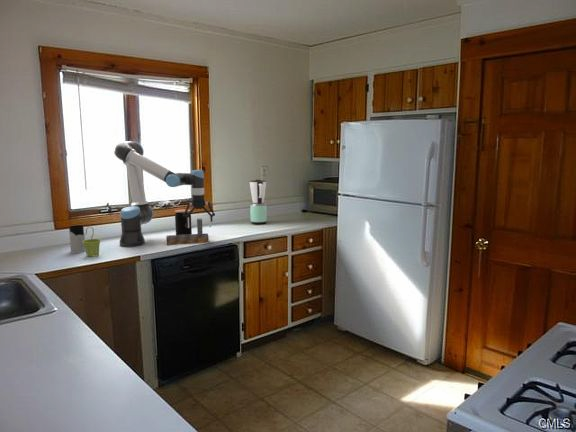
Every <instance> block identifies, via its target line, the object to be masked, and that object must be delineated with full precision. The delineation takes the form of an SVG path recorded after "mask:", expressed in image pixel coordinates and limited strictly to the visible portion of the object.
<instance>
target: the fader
mask: <svg viewBox="0 0 576 432" xmlns="http://www.w3.org/2000/svg"><path fill="white" fill-rule="evenodd" d="M196 229H197V230H196V231H197V233H196V234H198V235H203V234H204V233H203V218H196Z"/></svg>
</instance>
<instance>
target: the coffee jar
mask: <svg viewBox="0 0 576 432" xmlns="http://www.w3.org/2000/svg"><path fill="white" fill-rule="evenodd" d="M185 210H186V208H185V209H183V208H182V209H176V210H174V213H175V214H174V221H175V222H174V224H175V235H187V234H193V231H192V216H191V215H192V213H191V214H190V215H189V216H188V217H189V228H188V223H186V218H185V217H183V214H184V212H185ZM190 210H191V209H188V211H187V213H186V215H187V214H188V213H189V212H190Z"/></svg>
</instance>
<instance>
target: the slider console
mask: <svg viewBox="0 0 576 432" xmlns="http://www.w3.org/2000/svg"><path fill="white" fill-rule="evenodd" d="M165 237H166V241H165V242H166V245H167V246H168V245H169V246H171V245H189V244H202V243H204V244H205V243H210V240H209V234H208V233H206V232H205V233H203V235H198V233H192V234H187V235H176V234H174V235H166V236H165Z"/></svg>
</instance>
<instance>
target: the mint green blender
mask: <svg viewBox="0 0 576 432" xmlns="http://www.w3.org/2000/svg"><path fill="white" fill-rule="evenodd" d="M266 187H267V180H264V179H263V180H262V179H254V180H249V188H250V194H251V201H252V202H251V203H250V205H249V206H250V208H249V210H250V211H249V213H250V214H249V215H250V217H249V218H250V223H251V224H253V225H255V226H256V225H257V224H258V225H260V224H263V225H267V221H268V219H267V218H268V217H267V215H268V214H267V212H268V211H267V203H266V202H265V197H266V196H265V195H266Z"/></svg>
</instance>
